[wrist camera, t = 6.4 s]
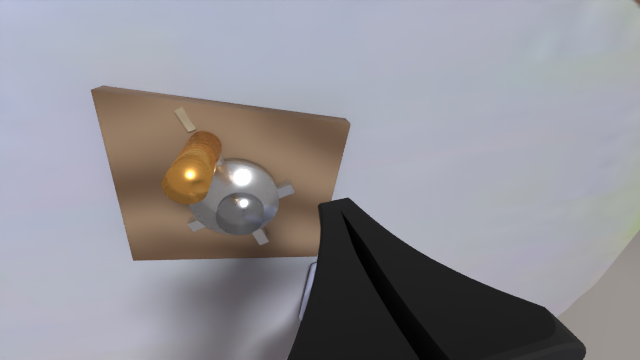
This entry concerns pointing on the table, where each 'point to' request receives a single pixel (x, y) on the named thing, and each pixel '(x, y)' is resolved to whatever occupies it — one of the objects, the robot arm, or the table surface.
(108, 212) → the table surface
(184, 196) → the dial
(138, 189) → the walnut base
